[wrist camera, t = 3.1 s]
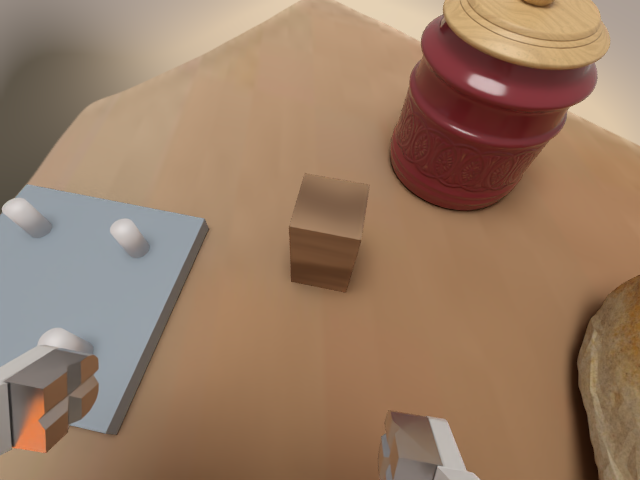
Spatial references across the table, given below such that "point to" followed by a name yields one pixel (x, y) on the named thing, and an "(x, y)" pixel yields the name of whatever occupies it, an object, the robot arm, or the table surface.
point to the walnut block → (326, 231)
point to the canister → (492, 94)
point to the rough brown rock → (614, 383)
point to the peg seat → (92, 285)
